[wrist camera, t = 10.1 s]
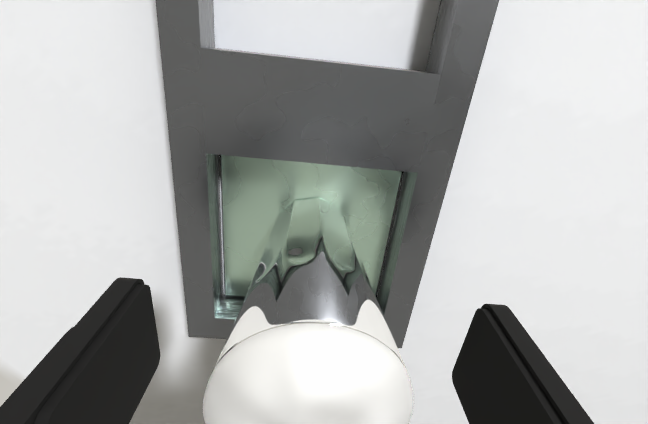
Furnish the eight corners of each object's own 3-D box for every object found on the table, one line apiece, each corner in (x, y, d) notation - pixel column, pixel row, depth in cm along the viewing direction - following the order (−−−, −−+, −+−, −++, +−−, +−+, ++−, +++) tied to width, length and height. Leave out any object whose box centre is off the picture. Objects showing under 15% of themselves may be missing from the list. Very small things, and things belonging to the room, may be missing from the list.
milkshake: (297, 299, 16) (277, 609, 7) (239, 209, 14) (107, 490, 5) (385, 265, 16) (484, 561, 6) (338, 164, 13) (389, 398, 4)
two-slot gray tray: (552, -296, 8) (601, -367, 7) (394, 323, 17) (401, 348, 16) (147, -375, 8) (109, -471, 6) (199, 311, 17) (188, 336, 15)
